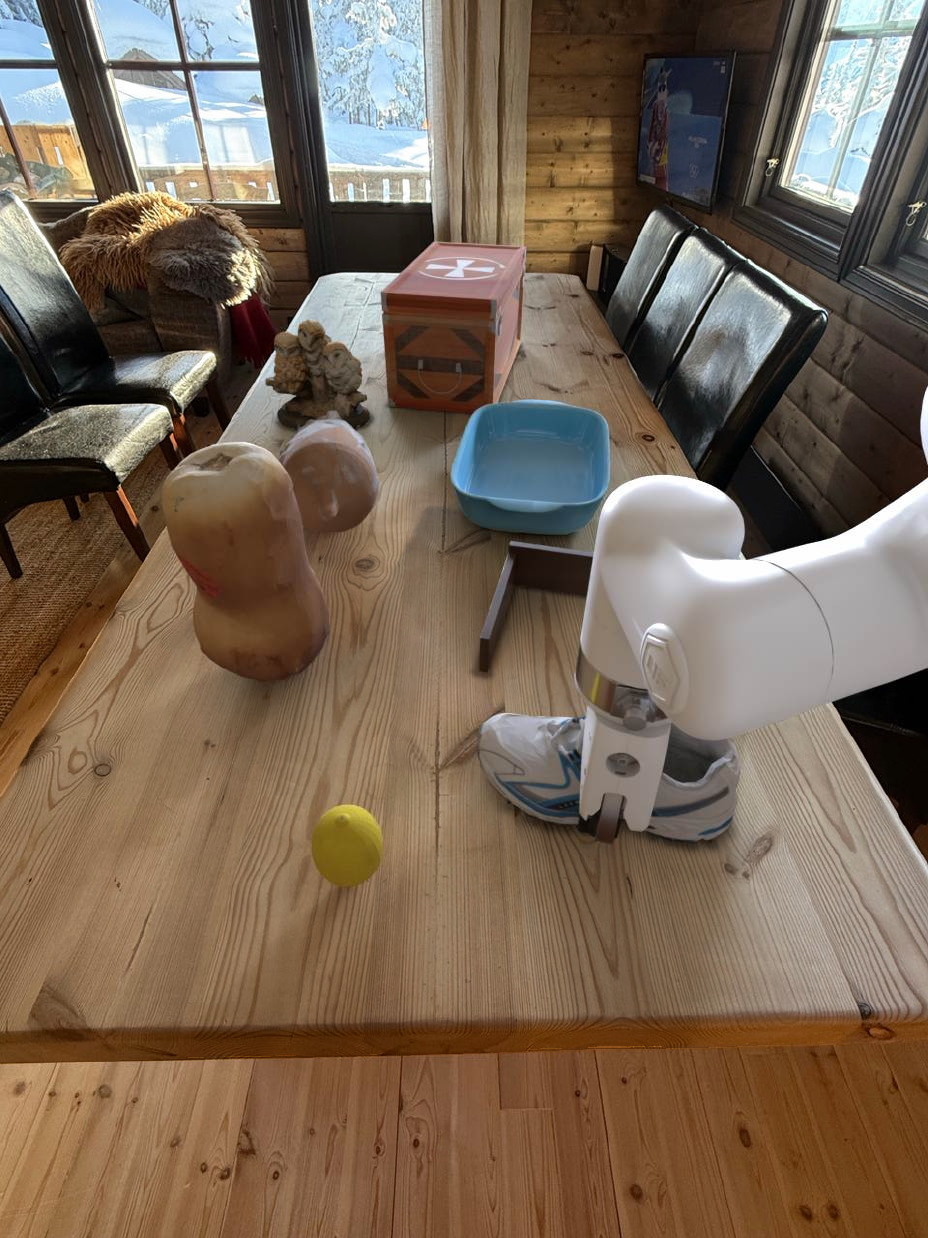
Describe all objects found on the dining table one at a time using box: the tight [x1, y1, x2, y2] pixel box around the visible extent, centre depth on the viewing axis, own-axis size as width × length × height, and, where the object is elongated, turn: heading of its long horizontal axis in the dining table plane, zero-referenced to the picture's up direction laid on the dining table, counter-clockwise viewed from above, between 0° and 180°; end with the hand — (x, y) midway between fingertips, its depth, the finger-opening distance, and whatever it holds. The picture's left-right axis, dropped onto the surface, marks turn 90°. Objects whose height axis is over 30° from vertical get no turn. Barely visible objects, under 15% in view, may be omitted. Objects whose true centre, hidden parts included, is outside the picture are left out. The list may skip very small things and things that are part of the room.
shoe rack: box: [478, 540, 594, 674], centre depth 74 cm, size 17×28×6 cm, turn 76°
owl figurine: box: [264, 318, 371, 431], centre depth 115 cm, size 18×12×17 cm, turn 87°
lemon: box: [311, 804, 384, 888], centre depth 52 cm, size 6×6×8 cm
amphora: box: [277, 411, 380, 534], centre depth 93 cm, size 14×16×30 cm
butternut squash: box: [161, 441, 331, 683], centre depth 64 cm, size 14×13×25 cm
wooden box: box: [380, 241, 527, 415], centre depth 132 cm, size 20×41×20 cm, turn 169°
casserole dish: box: [450, 399, 611, 536], centre depth 100 cm, size 37×22×7 cm, turn 171°
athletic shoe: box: [476, 712, 741, 844], centre depth 57 cm, size 10×23×12 cm, turn 82°
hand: (597, 827), depth 54 cm, fingers closed
